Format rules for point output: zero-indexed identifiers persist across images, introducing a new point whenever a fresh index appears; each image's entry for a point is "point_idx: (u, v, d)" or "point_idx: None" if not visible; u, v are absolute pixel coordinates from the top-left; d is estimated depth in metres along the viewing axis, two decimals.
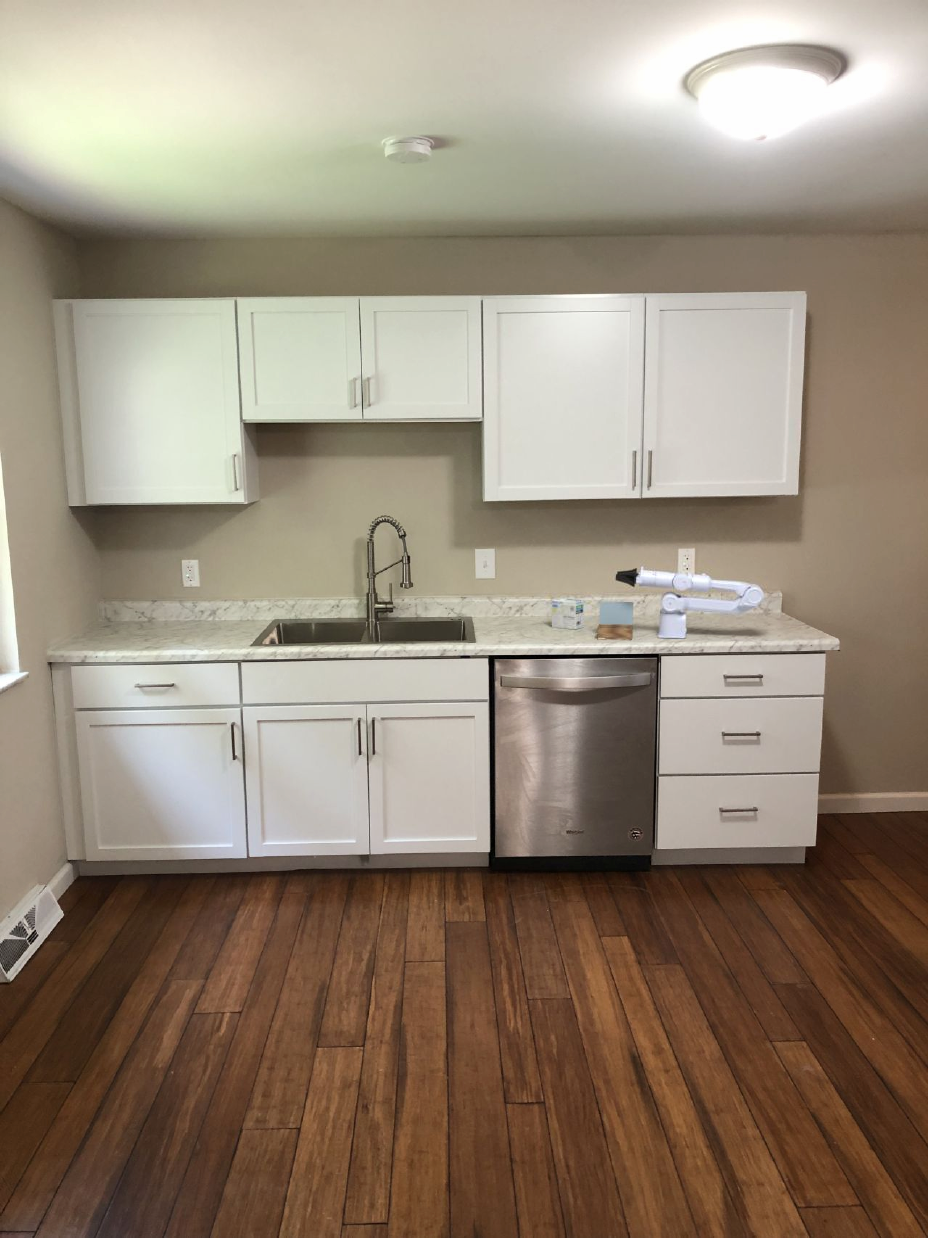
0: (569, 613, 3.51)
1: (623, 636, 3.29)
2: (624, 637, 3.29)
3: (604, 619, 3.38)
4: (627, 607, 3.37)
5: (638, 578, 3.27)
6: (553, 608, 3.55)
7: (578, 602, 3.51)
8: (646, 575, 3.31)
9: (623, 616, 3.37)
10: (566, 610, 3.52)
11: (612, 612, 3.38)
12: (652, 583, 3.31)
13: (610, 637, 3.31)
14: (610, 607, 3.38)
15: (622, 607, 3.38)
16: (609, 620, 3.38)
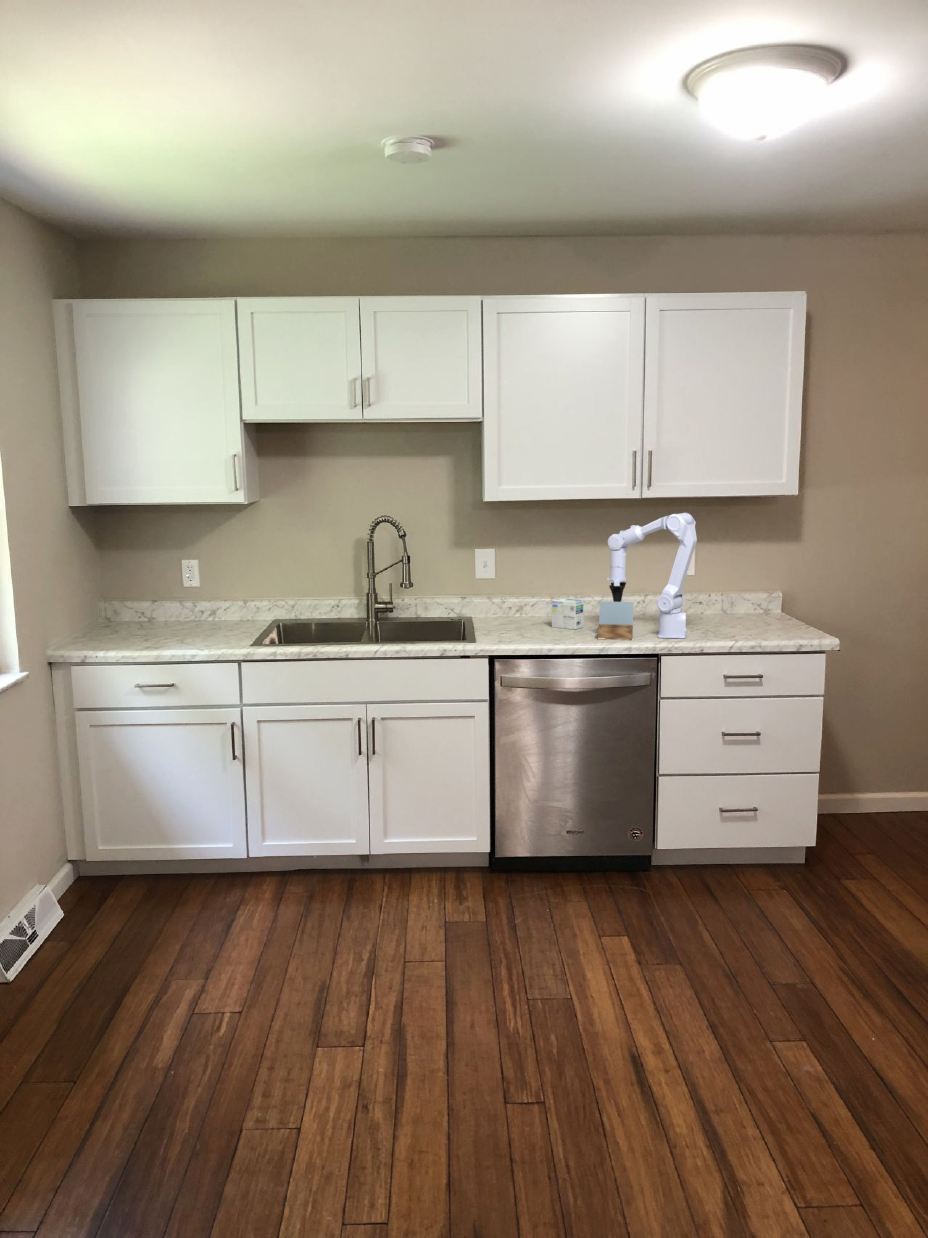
0: (569, 613, 3.51)
1: (623, 636, 3.29)
2: (624, 637, 3.29)
3: (604, 619, 3.38)
4: (627, 607, 3.37)
5: (615, 583, 3.38)
6: (553, 608, 3.55)
7: (578, 602, 3.51)
8: (614, 575, 3.42)
9: (623, 616, 3.37)
10: (566, 610, 3.52)
11: (612, 612, 3.38)
12: (621, 569, 3.41)
13: (610, 637, 3.31)
14: (610, 607, 3.38)
15: (622, 607, 3.38)
16: (609, 620, 3.38)
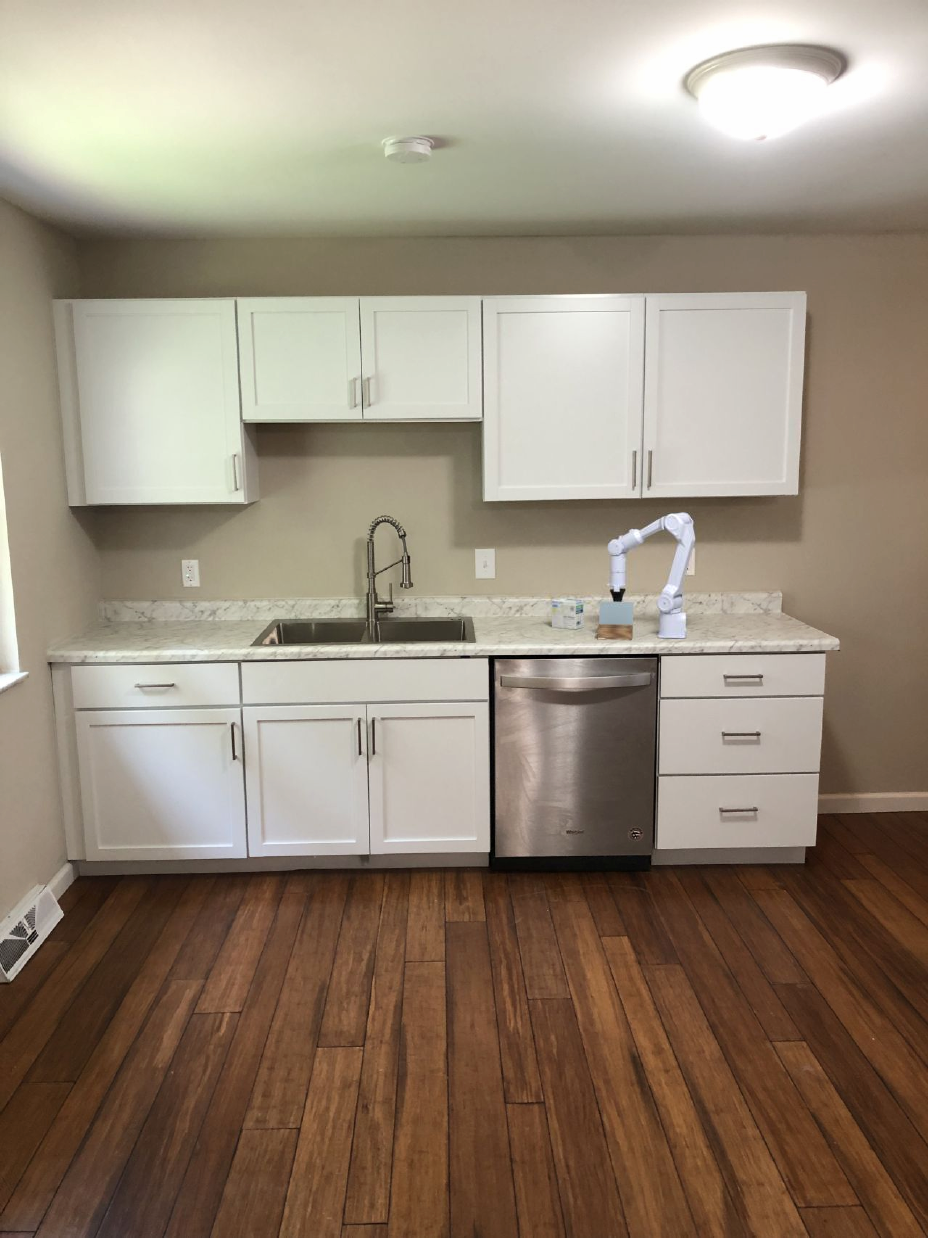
0: (569, 613, 3.51)
1: (623, 636, 3.29)
2: (624, 637, 3.29)
3: (604, 619, 3.38)
4: (627, 607, 3.37)
5: (614, 589, 3.38)
6: (553, 608, 3.55)
7: (578, 602, 3.51)
8: (614, 581, 3.42)
9: (623, 616, 3.37)
10: (566, 610, 3.52)
11: (612, 612, 3.38)
12: (621, 574, 3.41)
13: (610, 637, 3.31)
14: (610, 607, 3.38)
15: (622, 607, 3.38)
16: (609, 620, 3.38)
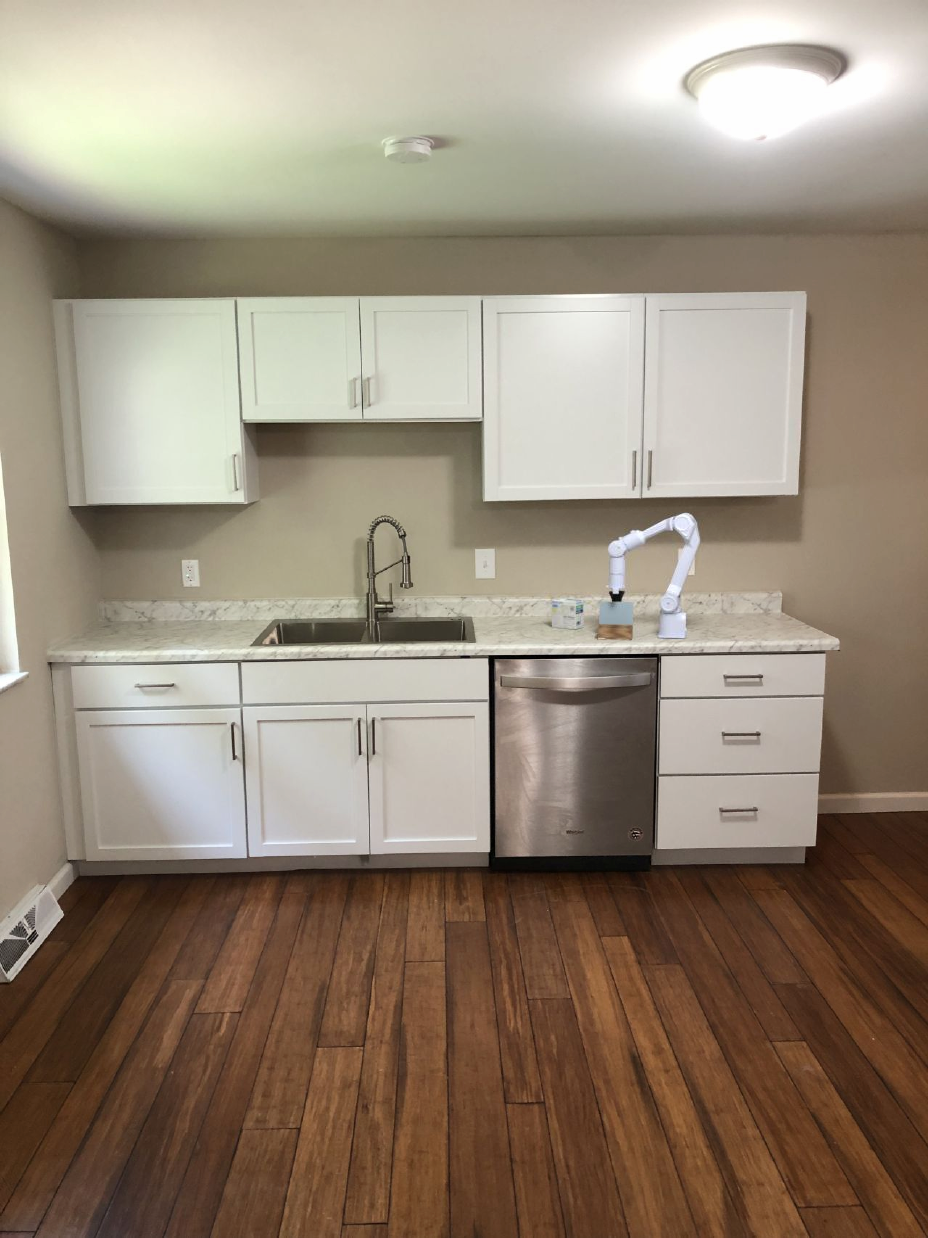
0: (569, 613, 3.51)
1: (623, 636, 3.29)
2: (624, 637, 3.29)
3: (604, 619, 3.38)
4: (627, 607, 3.37)
5: (613, 591, 3.32)
6: (553, 608, 3.55)
7: (578, 602, 3.51)
8: (613, 582, 3.36)
9: (623, 616, 3.37)
10: (566, 610, 3.52)
11: (612, 612, 3.38)
12: (620, 576, 3.35)
13: (610, 637, 3.31)
14: (610, 607, 3.38)
15: (622, 607, 3.37)
16: (609, 620, 3.38)
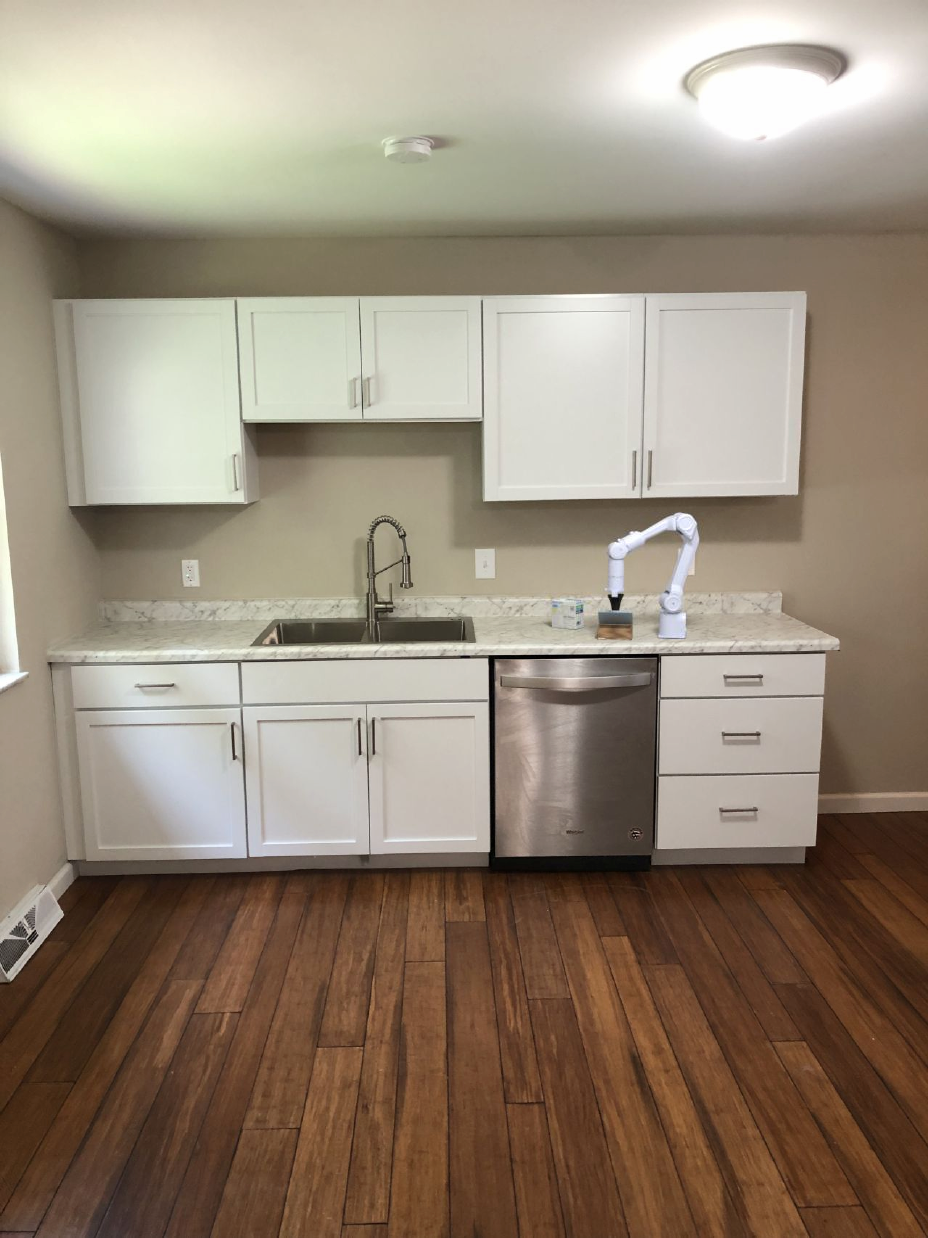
0: (569, 613, 3.51)
1: (623, 636, 3.29)
2: (624, 637, 3.29)
3: (604, 621, 3.37)
4: (626, 615, 3.31)
5: (612, 594, 3.25)
6: (553, 608, 3.55)
7: (578, 602, 3.51)
8: (611, 585, 3.29)
9: (623, 620, 3.35)
10: (566, 610, 3.52)
11: (611, 618, 3.34)
12: (619, 579, 3.29)
13: (610, 637, 3.31)
14: (609, 615, 3.33)
15: (621, 615, 3.32)
16: (609, 622, 3.37)
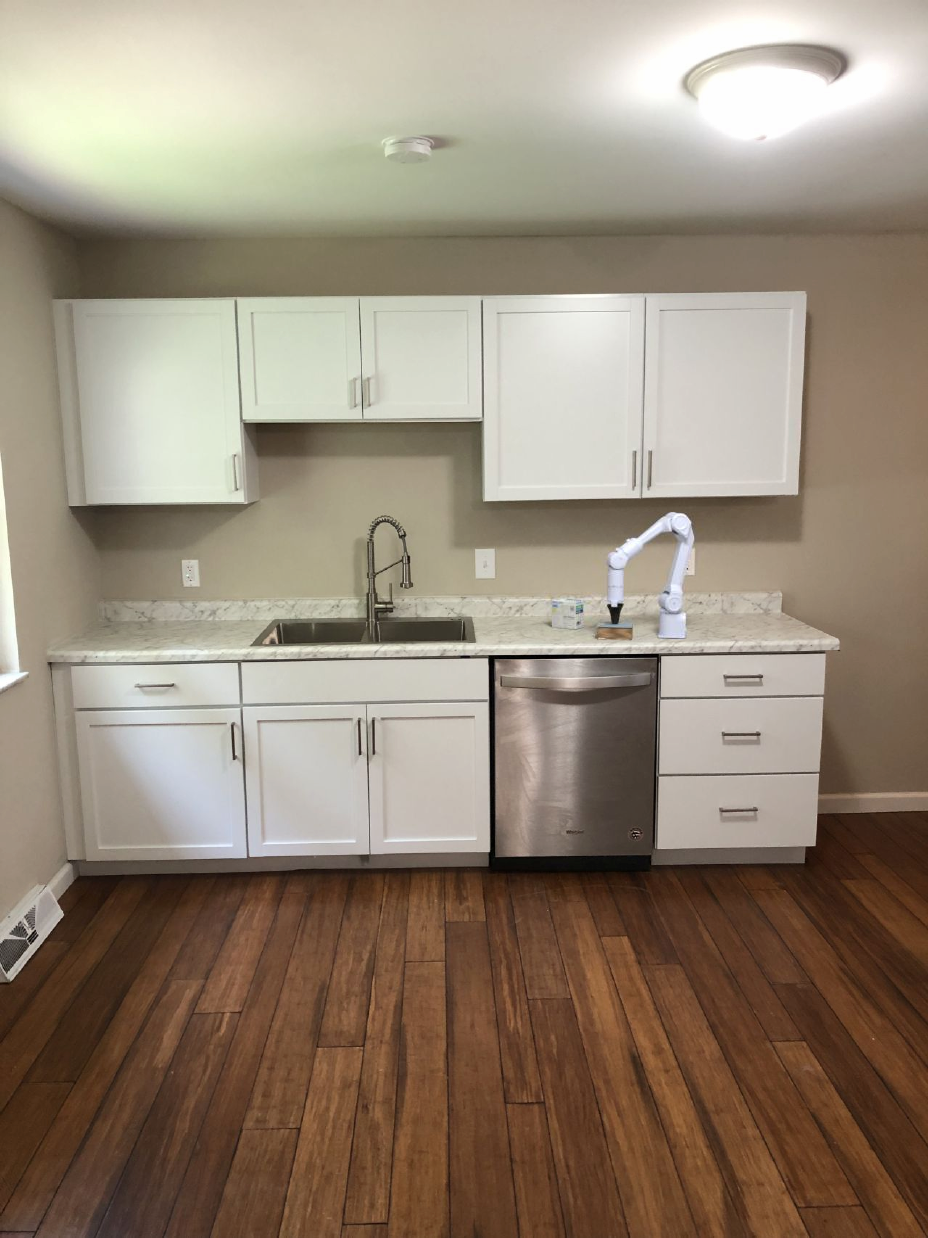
0: (569, 613, 3.51)
1: (623, 636, 3.29)
2: (624, 637, 3.29)
3: None
4: None
5: (612, 604, 3.24)
6: (553, 608, 3.55)
7: (578, 602, 3.51)
8: (611, 595, 3.28)
9: None
10: (566, 610, 3.52)
11: None
12: (619, 588, 3.28)
13: (610, 637, 3.31)
14: None
15: None
16: None
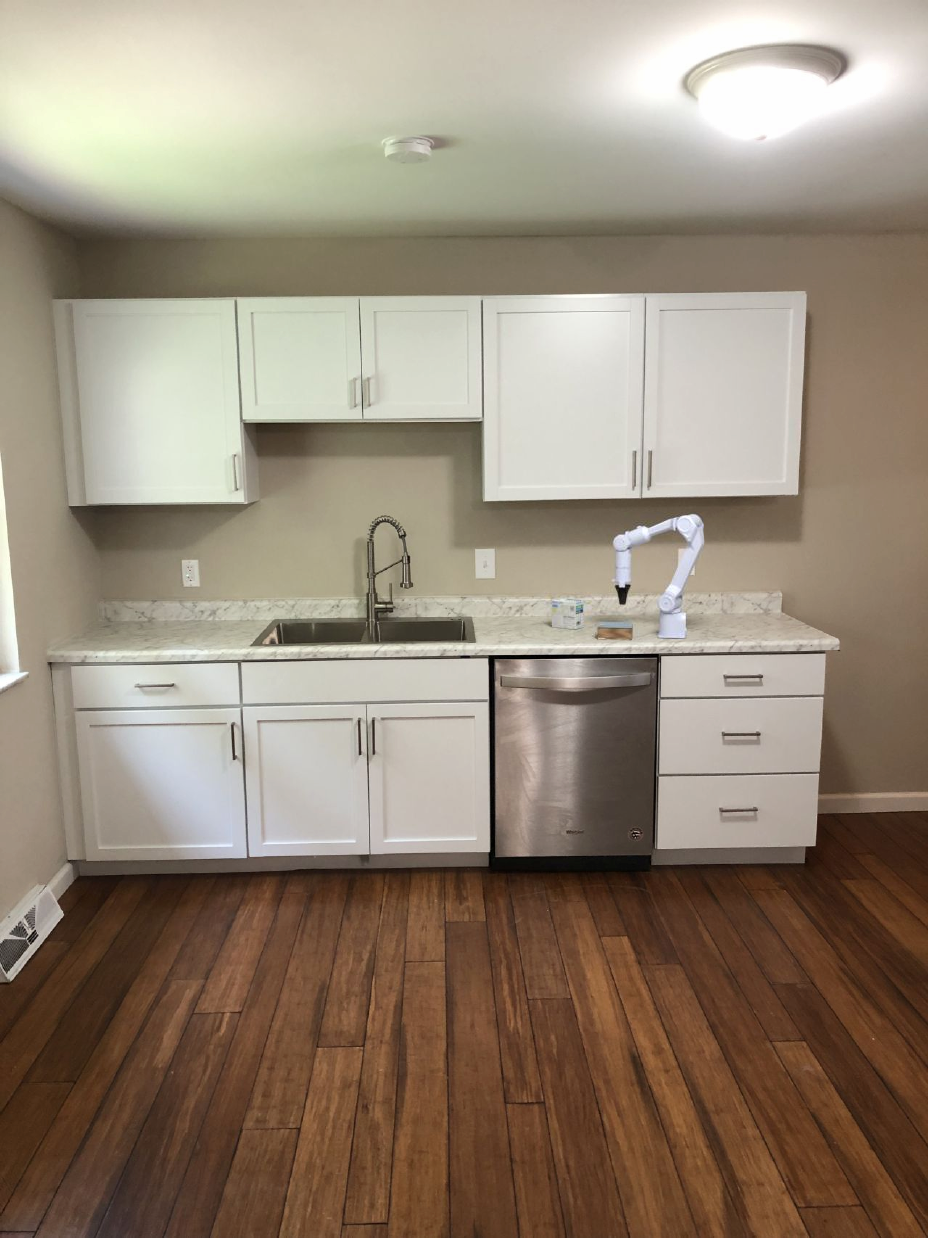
0: (569, 613, 3.51)
1: (623, 636, 3.29)
2: (624, 637, 3.29)
3: None
4: None
5: (620, 585, 3.34)
6: (553, 608, 3.55)
7: (578, 602, 3.51)
8: (619, 576, 3.39)
9: None
10: (566, 610, 3.52)
11: None
12: (626, 570, 3.38)
13: (610, 637, 3.31)
14: None
15: None
16: None
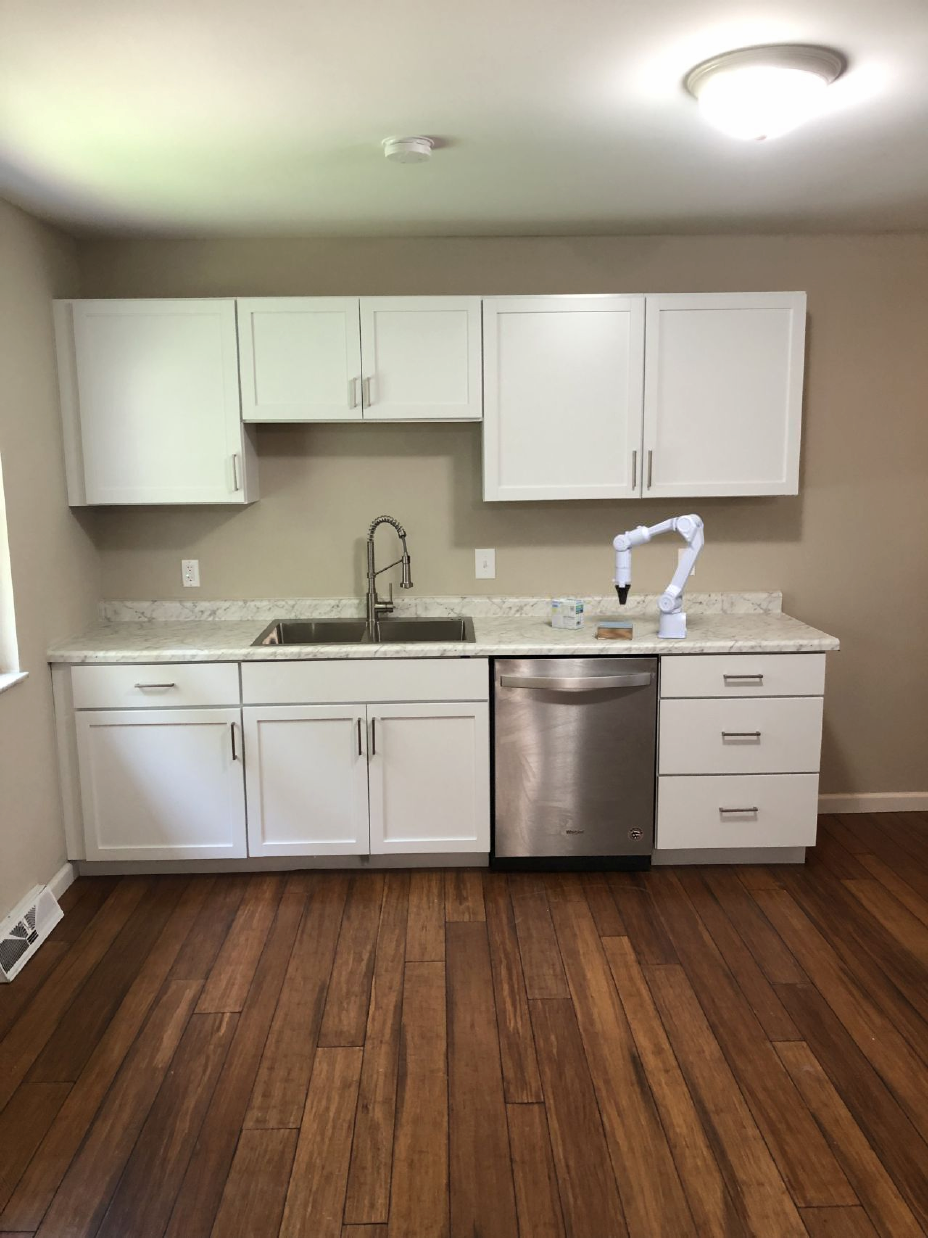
0: (569, 613, 3.51)
1: (623, 636, 3.29)
2: (624, 637, 3.29)
3: None
4: None
5: (620, 585, 3.34)
6: (553, 608, 3.55)
7: (578, 602, 3.51)
8: (619, 576, 3.39)
9: None
10: (566, 610, 3.52)
11: None
12: (626, 570, 3.38)
13: (610, 637, 3.31)
14: None
15: None
16: None
